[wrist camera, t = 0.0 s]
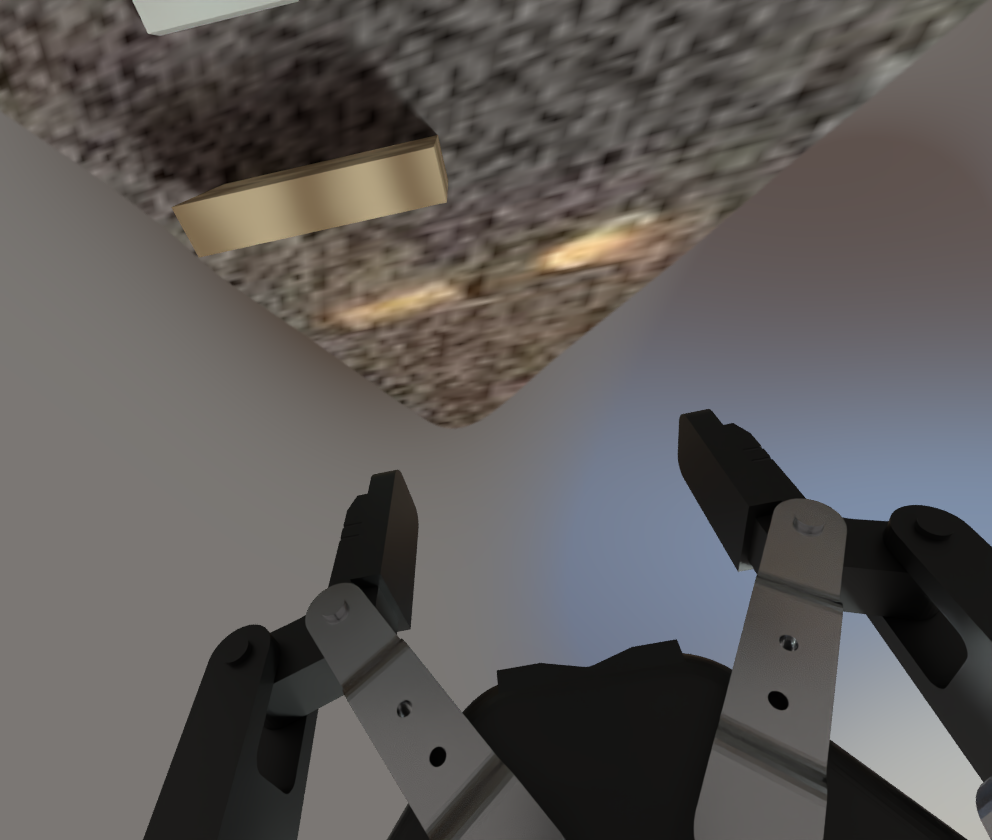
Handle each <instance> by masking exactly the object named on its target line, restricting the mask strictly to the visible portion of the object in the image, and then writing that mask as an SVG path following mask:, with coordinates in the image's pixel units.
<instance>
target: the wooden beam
mask: <svg viewBox="0 0 992 840" xmlns="http://www.w3.org/2000/svg"><path fill="white" fill-rule="evenodd" d="M447 189H448V178H447V174H446V170H445V165H444V161H443V156H442V152H441V148H440V143H439V139H438V135H435V136H431V137H427V138H422V139H418V140H414V141H409V142H405V143H401V144H396V145H392V146H388V147H383V148H379V149H375V150H370V151H366V152H362V153H357V154H353V155H349V156H344V157H340V158H336V159H331V160H327V161H323V162H318V163H314V164H310V165H305V166H301V167H297V168H292V169H288V170H284V171H279V172H275V173H271V174H266V175H262V176H258V177H253V178H249V179H245V180H240V181H236V182H232V183H227V184H223V185H221V186H219V187H216V188H214V189H212V190H210V191H207V192H205V193H203V194H201V195H198V196H196V197H194V198H191V199H189V200H187V201H185V202H182V203H180V204H178V205H176V206H173V207H172V209H173V211H174V213H175V214H176V216H177V218H178V220H179V222H180V224H181V225H182V227H183V229H184V231H185V233H186V234H187V236H188V238H189V240H190V242H191V244H192V245H193V247H194V249H195V251H196V253H197V254H198V256H199V257H203V256H208V255H212V254H217V253H221V252H225V251H230V250H234V249H239V248H243V247H248V246H252V245H257V244H261V243H266V242H270V241H275V240H279V239H284V238H288V237H293V236H297V235H302V234H306V233H311V232H315V231H320V230H324V229H329V228H333V227H338V226H342V225H347V224H351V223H356V222H360V221H364V220H369V219H373V218H378V217H382V216H387V215H391V214H396V213H400V212H405V211H409V210H414V209H418V208H423V207H427V206H432V205H436V204H441V203H445V202H447Z"/></svg>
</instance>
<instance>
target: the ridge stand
mask: <svg viewBox="0 0 992 840" xmlns="http://www.w3.org/2000/svg"><path fill="white" fill-rule="evenodd" d="M132 1H133V3H134V5H135V7H136V9H137V11H138V13H139V15H140V17H141V20H142V22H143V24H144V26H145V28H146V30H147V32H148V34H153V35H160V36H162V35H166V34H170V33H174V32H178V31H182V30H186V29H190V28H194V27H198V26H202V25H206V24H210V23H214V22H218V21H222V20H226V19H230V18H234V17H238V16H242V15H246V14H250V13H254V12H258V11H262V10H266V9H270V8H274V7H278V6H282V5H286V4H290V3H294V2H298V1H299V0H132Z"/></svg>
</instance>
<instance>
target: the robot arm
mask: <svg viewBox="0 0 992 840" xmlns="http://www.w3.org/2000/svg"><path fill="white" fill-rule="evenodd" d="M678 463H679V467H680V470H681V473H682V476H683V478H684V480H685V481H686V483H687V485H688V486H689V488H690V490H691V492H692V493H693V495H694V497H695V499H696V500H697V502H698V504H699V505H700V507H701V509H702V511H703V512H704V514H705V516H706V517H707V519H708V521H709V523H710V524H711V526H712V528H713V529H714V531H715V533H716V535H717V536H718V538H719V540H720V541H721V543H722V544H723V547H724V548H725V550H726V552H727V553H728V555H729V557H730V559H731V560H732V562H733V564H734V565H735V567H736V569H737V570H738V572H739V571H745V570H751V569H754V570H755V572H756V573H757V576H756V580H755V584H754V587H753V591H752V595H751V599H750V603H749V607H748V611H747V615H746V619H745V623H744V627H743V631H742V634H741V638H740V643H739V646H738V651H737V654H736V658H735V662H734V666H733V670H732V669H730V668H728V667H727V666H725V665H722V664H720V663H718V662H716V661H713V660H711V659H707V658H704V657H701V656H697V655H692V654H685V653H682V651H681V649H680V646H679V644H678V641H677V640H670V641H664V642H659V643H653V644H647V645H641V646H635V647H631V648H629V649H627V650H625V651H623V652H620V653H619V654H616V655H614V656H612V657H610V658H608V659H606V660H604V661H601V662H599V663H597V664H595V665H593V666H590V667H577V666H566V665H556V664H545V663H538V664H532V665H526V666H520V667H515V668H509V669H503V670H497V679H498V685H497V686H494V687H492V688H490V689H489V690H487V691H486V692H484V693H483V694H481V695H480V696H479V697H477V698H476V699H475V700H474V701H473V702H472V703H471V704H470V705H469V706H468V707H467V708H466V709H465V710H464V711H463V713H462V712H461V711H460V709H459V708H458V707H457V706H456V704H455V703H454V702H453V701H452V699H451V698H450V697H449V696H448V695H447V693H446V692H445V691H444V689H443V688H442V687H441V686H440V684H439V683H438V682H437V681H436V680H435V678H434V677H433V676H432V674H431V673H430V672H429V671H428V669H427V668H426V667H425V666H424V664H423V663H422V662H421V661H420V659H419V658H418V657H417V656H416V654H415V653H414V652H413V651H412V649H411V648H410V647H409V646H408V645H407V643H406V642H405V641H404V640H403V639H400V638H399V637H398V636H397V632H398V631H404V630H409V629H410V627H411V616H412V602H413V590H414V578H415V565H416V553H417V539H418V515H417V511H416V507H415V505H414V502H413V500H412V497H411V495H410V493H409V490H408V488H407V485H406V483H405V481H404V478H403V476H402V473H401V472H400V471H399V470H394V471H389V472H384V473H378V474H374V475H372V477H371V481H370V485H369V491H368V494H364V495H359V496H357V498H356V499H355V500H354V502H353V503H352V504H351V506H350V507H349V509H348V510H347V514H346V518H345V522H344V528H343V530H342V534H341V541H340V542H339V546H338V550H337V554H336V558H335V562H334V566H333V571H332V574H331V578H330V583H329V586H328V588H327V589H325V590H324V591H322V592H321V593H320V594H319V595H318V596H317V597H316V598H315V599H314V600H313V602H312V603H311V604H310V606H309V608H308V610H307V613H306V615H305V616H303V617H302V618H300V619H298V620H296V621H294V622H292V623H290V624H288V625H286V626H284V627H282V628H279V629H278V630H275V631H273V632H271V633H270V632H269V631H268V630H267V629H266V628H265V627H263V626H261V625H248V626H245V627H242V628H240V629H237V630H236V631H234V632H233V633H231V634H230V635H228V636H227V637H226V638H225V639H224V640H223V641H222V642H221V643H220V644H219V645H218V646H217V648H216V649H215V650H214V652H213V653H212V655H211V658H210V659H209V662H208V665H207V668H206V670H205V673H204V676H203V678H202V681H201V684H200V686H199V689H198V692H197V695H196V697H195V700H194V703H193V705H192V708H191V711H190V714H189V716H188V719H187V722H186V724H185V727H184V730H183V733H182V735H181V738H180V741H179V743H178V746H177V749H176V752H175V754H174V757H173V760H172V762H171V765H170V768H169V771H168V773H167V776H166V779H165V781H164V784H163V787H162V790H161V793H160V795H159V798H158V801H157V803H156V806H155V809H154V812H153V814H152V817H151V820H150V823H149V825H148V828H147V831H146V833H145V836H144V839H143V840H297V836H298V831H299V825H300V819H301V812H302V806H303V800H304V794H305V787H306V781H307V775H308V769H309V763H310V757H311V750H312V745H313V738H314V732H315V726H316V719H317V714H318V708H320V707H322V706H324V705H326V704H328V703H329V702H331V701H333V700H335V699H337V698H339V697H341V696H343V695H345V697H346V699H347V701H348V702H349V704H350V706H351V707H352V709H353V711H354V712H355V714H356V716H357V717H358V719H359V721H360V723H361V724H362V726H363V727H364V729H365V731H366V733H367V734H368V736H369V738H370V739H371V741H372V742H373V744H374V746H375V748H376V749H377V751H378V753H379V754H380V756H381V758H382V759H383V761H384V762H385V764H386V766H387V768H388V769H389V771H390V773H391V774H392V776H393V778H394V779H395V781H396V783H397V785H398V786H399V788H400V790H401V791H402V793H403V794H404V796H405V798H406V799H407V801H408V804H407V806H406V808H405V810H404V811H403V813H402V815H401V816H400V818H399V820H398V822H397V823H396V825H395V827H394V829H393V830H392V832H391V834H390V835H389V837H388V839H387V840H967V839H966V838H964V837H963V836H962V835H960V834H959V833H958V832H956V831H955V830H954V829H952V828H951V827H949V826H948V825H947V824H945V823H944V822H943V821H941V820H940V819H938V818H937V817H936V816H934V815H933V814H931V813H930V812H929V811H927V810H926V809H924V808H923V807H922V806H921V805H919V804H918V803H916V802H915V801H914V800H912V799H911V798H910V797H908V796H907V795H905V794H904V793H903V792H901V791H900V790H899V789H897V788H896V787H894V786H893V785H892V784H890V783H889V782H888V781H886V780H885V779H883V778H882V777H881V776H879V775H878V774H877V773H875V772H874V771H872V770H871V769H870V768H868V767H867V766H866V765H864V764H863V763H861V762H860V761H859V760H857V759H856V758H855V757H853V756H851V755H850V754H849V753H848V752H846V751H845V750H843V749H842V748H841V747H839V746H838V745H837V744H835V743H834V742H833V741H831V740H830V731H831V721H832V712H833V702H834V693H835V683H836V674H837V665H838V655H839V645H840V636H841V626H842V617H843V611H844V612H853V613H861V614H866V615H867V616H868V618H869V619H870V621H871V622H872V624H873V625H874V626H875V628H876V629H877V631H878V632H879V634H880V635H881V636H882V638H883V639H884V641H885V642H886V644H887V645H888V646H889V648H890V649H891V651H892V652H893V653H894V655H895V656H896V658H897V659H898V661H899V662H900V663H901V665H902V666H903V668H904V669H905V671H906V672H907V674H908V675H909V676H910V678H911V679H912V681H913V682H914V684H915V685H916V686H917V688H918V689H919V691H920V692H921V694H922V695H923V696H924V698H925V699H926V701H927V702H928V704H929V705H930V706H931V708H932V709H933V711H934V712H935V714H936V715H937V716H938V718H939V719H940V721H941V722H942V723H943V725H944V726H945V728H946V729H947V731H948V732H949V734H950V735H951V736H952V738H953V739H954V741H955V742H956V744H957V745H958V746H959V748H960V749H961V751H962V752H963V754H964V755H965V756H966V758H967V759H968V761H969V762H970V764H971V765H972V766H973V768H974V769H975V771H976V772H977V774H978V775H979V776H980V778H981V779H982V781H983V783H982V784H981V785H980V787H979V789H978V790H977V794H976V806H977V811H978V814H979V817H980V819H981V821H982V823H983V825H984V827H985V829H986V831H987V833H988V835H989V837H990V839H991V840H992V547H991V546H990V545H989V544H988V543H987V542H986V541H985V540H984V539H983V538H982V537H981V536H979V535H978V534H977V533H976V532H975V531H974V530H973V529H972V528H971V527H970V526H969V525H968V524H966V523H965V522H964V521H963V520H961V519H960V518H958V517H957V516H955V515H953V514H951V513H948V512H946V511H944V510H941V509H938V508H934V507H930V506H923V505H909V506H904V507H901V508H898V509H897V510H895V511H894V512H893V513H892V515H891V517H890V519H889V521H874V520H858V519H848V518H842V517H841V516H840V514H839V513H837V512H836V511H835V510H833V509H832V508H831V507H829V506H827V505H825V504H823V503H820V502H818V501H814V500H809V499H806V498H805V497H804V496H803V495H802V493H801V492H800V491H799V490H798V489H797V487H796V486H795V485H794V484H793V483H792V482H791V480H790V479H789V478H788V477H787V476H786V475H785V473H784V472H783V471H782V470H781V469H780V467H779V466H778V465H777V464H776V463H775V461H774V460H773V459H771V458H770V456H769V454H767V452H766V451H765V450H764V449H762V448H761V445H760V444H759V443H758V441H757V440H756V439H755V438H754V437H753V436H752V434H751V433H749V432H748V431H746V430H744V429H742V428H741V427H739V426H737V425H735V424H734V423H731V424H727V425H723V424H722V423H721V422H720V421H719V419H718V418H717V417H716V415H715V414H714V413H713V412H712V411H711V410H710V409H706V410H701V411H696V412H691V413H686V414H682V415H681V416H680V419H679V437H678Z"/></svg>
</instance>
